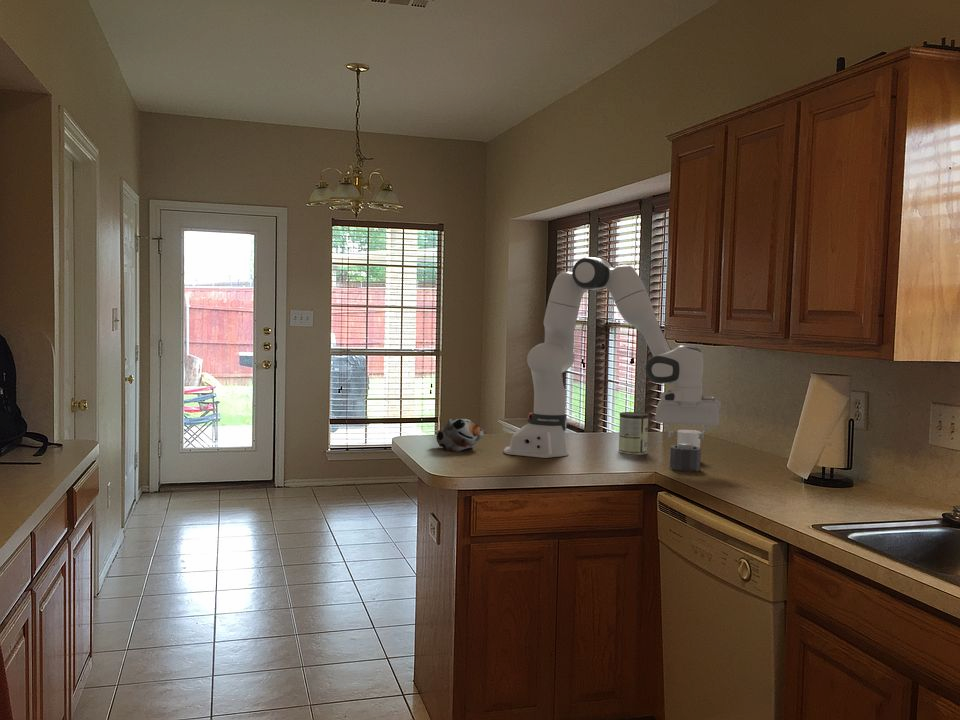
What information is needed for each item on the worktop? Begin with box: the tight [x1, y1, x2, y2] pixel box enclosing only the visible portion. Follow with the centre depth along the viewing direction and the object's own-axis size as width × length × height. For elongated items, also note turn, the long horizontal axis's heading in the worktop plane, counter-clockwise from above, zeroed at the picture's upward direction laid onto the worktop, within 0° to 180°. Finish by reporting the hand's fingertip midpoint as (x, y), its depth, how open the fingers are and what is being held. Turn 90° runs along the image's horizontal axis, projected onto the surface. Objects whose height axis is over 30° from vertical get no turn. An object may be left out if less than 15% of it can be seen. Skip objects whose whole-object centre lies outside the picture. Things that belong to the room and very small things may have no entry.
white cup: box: [677, 429, 702, 448], centre depth 290 cm, size 8×8×10 cm
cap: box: [676, 442, 693, 449], centre depth 272 cm, size 5×5×4 cm
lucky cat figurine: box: [436, 418, 485, 452], centre depth 296 cm, size 15×12×14 cm
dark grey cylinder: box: [669, 444, 702, 472], centre depth 273 cm, size 9×9×7 cm
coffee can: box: [618, 411, 650, 456], centre depth 302 cm, size 10×10×14 cm
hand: (685, 438), depth 272 cm, fingers open, 8 cm apart
